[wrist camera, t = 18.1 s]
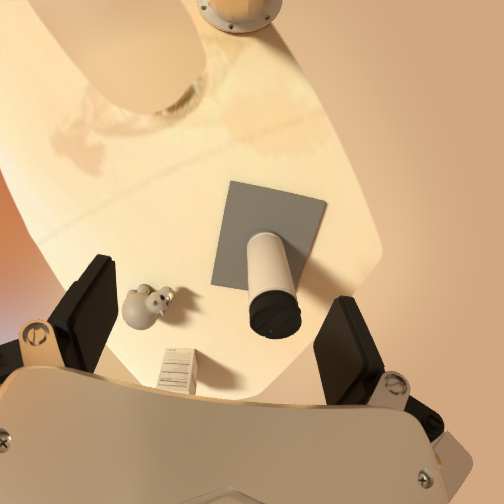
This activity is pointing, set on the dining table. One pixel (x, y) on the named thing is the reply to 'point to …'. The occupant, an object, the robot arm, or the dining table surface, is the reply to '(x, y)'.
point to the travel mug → (271, 287)
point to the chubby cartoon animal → (145, 306)
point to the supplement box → (179, 371)
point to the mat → (263, 218)
